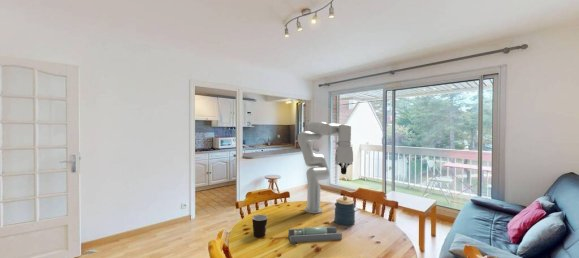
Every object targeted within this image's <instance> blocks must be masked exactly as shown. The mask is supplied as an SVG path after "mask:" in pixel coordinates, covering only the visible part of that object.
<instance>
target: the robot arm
mask: <svg viewBox="0 0 579 258" xmlns="http://www.w3.org/2000/svg"><path fill="white" fill-rule="evenodd" d="M307 129H308V130H307V131H305V130H303V131H300V132H298V134H297V144H298V145H299V147H300V150H301V153H302V156H303V160H304V164H305V165H306V167H310V168H308V169H307V170H306V175H305V176H306V180H307V182H306V183H307V194H306V195H307V196H306V197H307V198H306V199H307V200H306V201H307V202H306V207H304V211H305V212H306V213H309V214H320V213H323V208H322V207H321V189H322V188H321V185H320V183H319V181H324V180H327V179H329V177H330V169H329V167H328V163H327V160H326V157H325V156H324V154H322V153H315V151H314V149H313V147H312V145H311V144H310V143H318V142H319V141H321V139H322V138H323V137H324V136H337V142H335V145H336V149H335V157H334V159H335V165H337V166H338V167H340V173H341V175H347V168H348V167H349V166H350V165H353V162H354V152H353V146H352V142H351V141H352V126H351V124H347V123H345V124H343V123H327V122H325V121H311V122H310V123H308V125H307Z"/></svg>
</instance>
